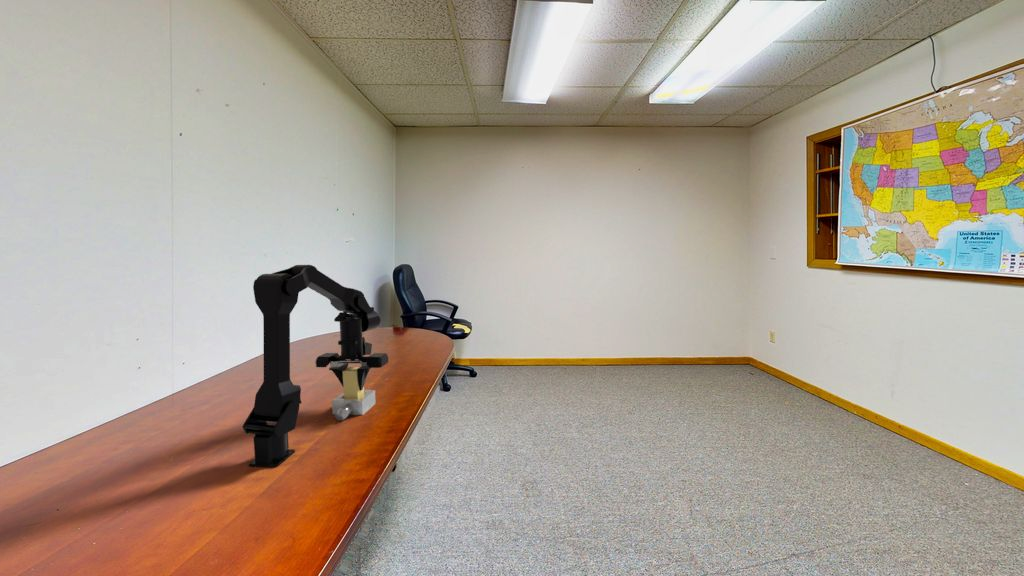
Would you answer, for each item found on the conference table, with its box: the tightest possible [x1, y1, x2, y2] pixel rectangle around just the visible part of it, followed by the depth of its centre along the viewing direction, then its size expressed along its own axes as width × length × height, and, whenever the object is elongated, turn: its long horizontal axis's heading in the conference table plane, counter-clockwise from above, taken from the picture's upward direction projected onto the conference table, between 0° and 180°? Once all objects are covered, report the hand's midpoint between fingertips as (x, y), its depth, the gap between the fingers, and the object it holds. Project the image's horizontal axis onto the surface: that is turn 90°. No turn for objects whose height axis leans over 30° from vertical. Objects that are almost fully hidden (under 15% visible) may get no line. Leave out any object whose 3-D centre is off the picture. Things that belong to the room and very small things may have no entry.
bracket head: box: [331, 388, 377, 422], centre depth 114 cm, size 16×8×4 cm, turn 176°
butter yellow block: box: [342, 366, 365, 399], centre depth 113 cm, size 4×4×10 cm
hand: (353, 390), depth 113 cm, fingers closed on butter yellow block, 4 cm apart
